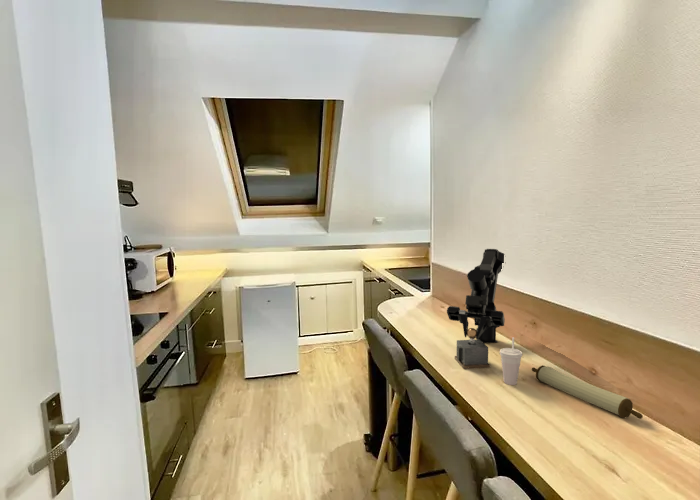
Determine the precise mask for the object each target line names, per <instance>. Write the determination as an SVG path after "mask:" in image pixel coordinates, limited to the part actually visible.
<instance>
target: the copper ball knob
mask: <svg viewBox="0 0 700 500" xmlns="http://www.w3.org/2000/svg"><path fill="white" fill-rule="evenodd" d="M476 329H477V328H474V327H470V328H468V330H467V336H466V337H468V338H469V340H470V345H474V340H475V339H476V337H477V330H476Z"/></svg>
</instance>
